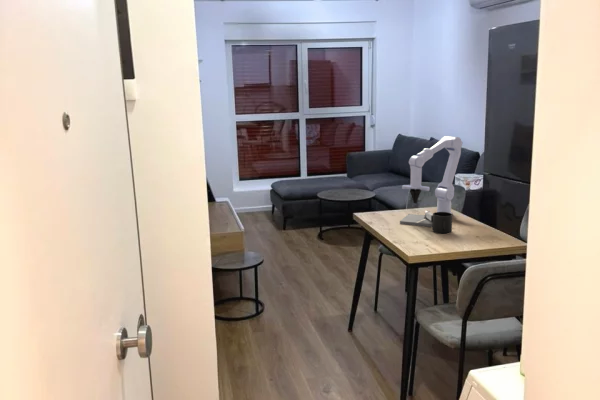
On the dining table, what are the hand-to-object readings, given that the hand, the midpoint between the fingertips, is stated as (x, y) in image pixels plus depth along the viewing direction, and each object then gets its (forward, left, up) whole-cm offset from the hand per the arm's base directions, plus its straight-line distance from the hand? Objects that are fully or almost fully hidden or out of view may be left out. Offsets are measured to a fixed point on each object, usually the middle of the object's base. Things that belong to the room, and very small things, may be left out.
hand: (415, 202), depth 293 cm
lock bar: (+5, +9, -7) cm, 13 cm away
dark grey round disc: (+1, +7, -8) cm, 11 cm away
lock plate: (+3, +6, -9) cm, 11 cm away
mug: (+19, +19, -10) cm, 29 cm away
